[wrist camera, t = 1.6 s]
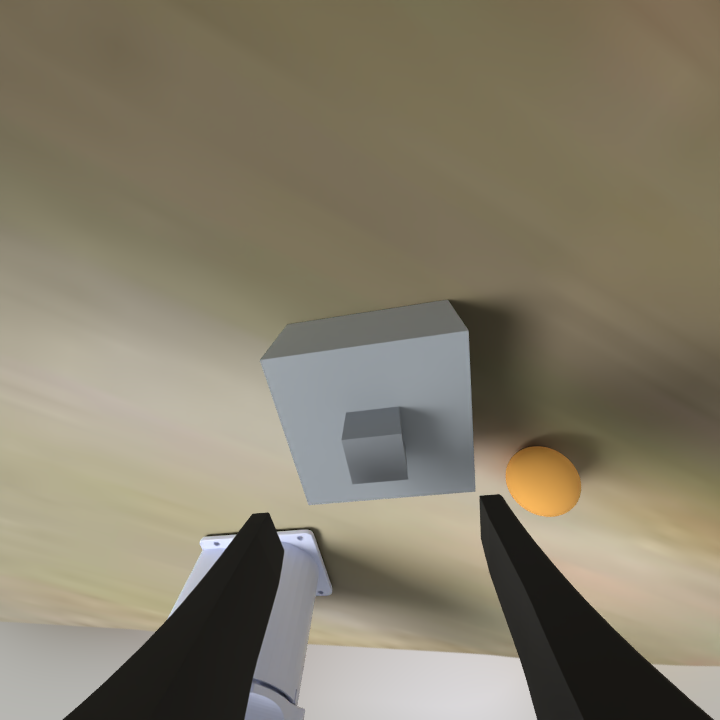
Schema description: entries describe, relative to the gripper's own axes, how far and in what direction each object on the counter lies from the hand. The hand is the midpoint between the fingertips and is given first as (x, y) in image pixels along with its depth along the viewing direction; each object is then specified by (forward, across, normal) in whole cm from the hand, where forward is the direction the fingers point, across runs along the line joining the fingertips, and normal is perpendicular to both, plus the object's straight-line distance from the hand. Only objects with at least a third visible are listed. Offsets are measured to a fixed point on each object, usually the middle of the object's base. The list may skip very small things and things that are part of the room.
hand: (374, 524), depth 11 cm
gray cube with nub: (+10, 0, 0) cm, 10 cm away
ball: (+8, -9, +7) cm, 14 cm away
